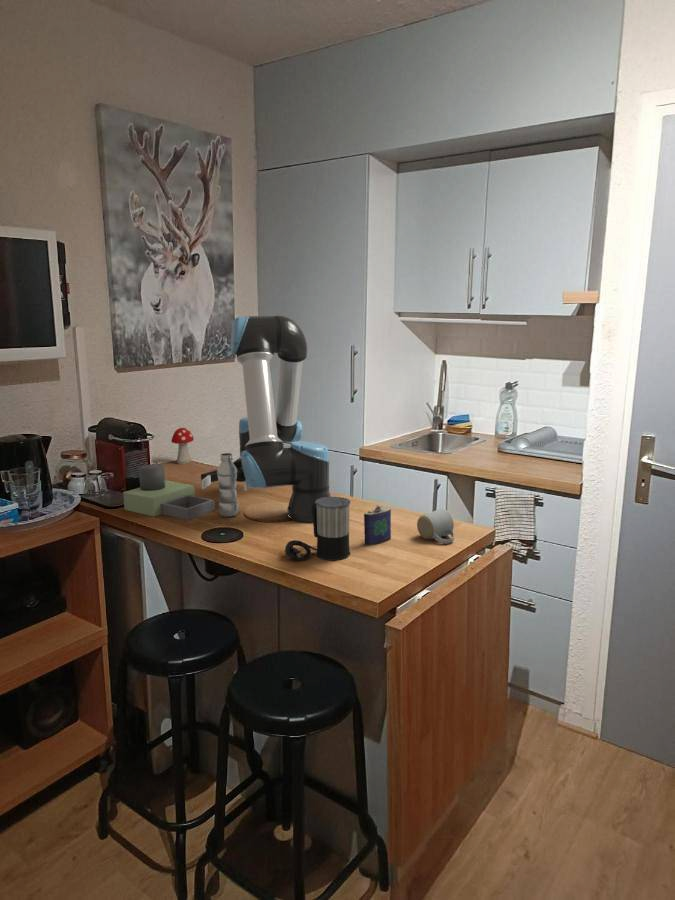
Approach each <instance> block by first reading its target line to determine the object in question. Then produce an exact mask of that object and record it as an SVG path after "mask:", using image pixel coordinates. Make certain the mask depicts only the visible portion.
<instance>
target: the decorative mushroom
mask: <svg viewBox="0 0 675 900" xmlns="http://www.w3.org/2000/svg"><path fill="white" fill-rule="evenodd" d="M194 439H195V438H194V435H193V433H192V432H191V431H190V429H188V428H186V427H180V428H178V429H176V430H175V431H174V433H173V435H172V437H171V443H172V444H178V451H177V458H176V463H177V465H187V464H189V463H191V461H192V457H191V455H190V452H189V447H188V444H189V443H191V442H194Z"/></svg>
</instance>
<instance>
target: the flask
mask: <svg viewBox="0 0 675 900" xmlns="http://www.w3.org/2000/svg"><path fill="white" fill-rule="evenodd" d="M363 522H364V523H363V524H364V525H363V526H364V529H363V530H364V545H365V546H374V545H379V544H382V543H385V542H388V541H390V540H391V538H392V527H391V525H392V509H391V508H389V507H384V508H383V507H382V505H380V504H376V508H374V510H373V509H371V510H368V511H367V512H366V511H365V512H364V514H363Z"/></svg>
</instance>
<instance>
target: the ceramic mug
mask: <svg viewBox="0 0 675 900" xmlns="http://www.w3.org/2000/svg"><path fill="white" fill-rule="evenodd" d="M416 526H417V531H418V533H419V535H420V536H421V537H422V538H423V539H424V540H435V541H437V542H438V543H440V544H443V545H448V544H451V543H453V541H454V540H455V533H454V527H455V526H454V520H453V517H452V515H451V513H450V512H449V511H448V510H446V509H445V508H439V509H436V510H433V511H430V512H427V513H424V514H423V515H421V516H419V518H418V519H417V523H416ZM447 536H451V538H449V539H444V538H443V537H447Z"/></svg>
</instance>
